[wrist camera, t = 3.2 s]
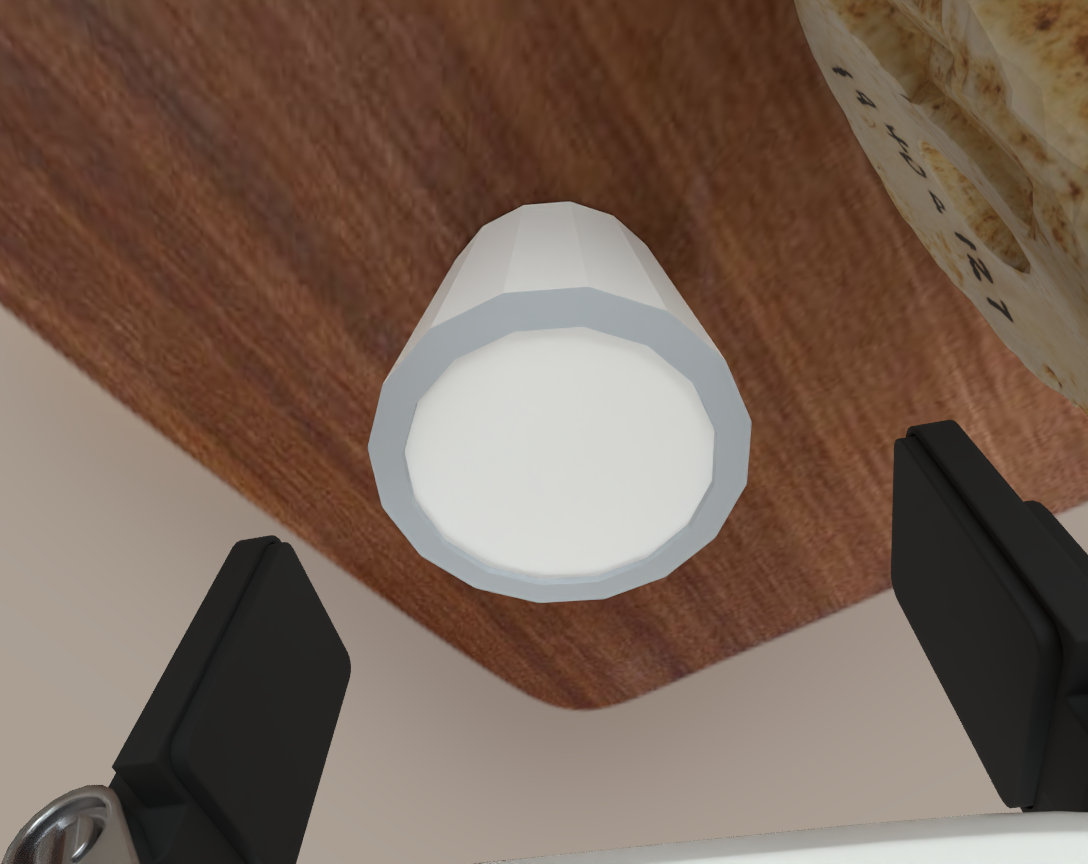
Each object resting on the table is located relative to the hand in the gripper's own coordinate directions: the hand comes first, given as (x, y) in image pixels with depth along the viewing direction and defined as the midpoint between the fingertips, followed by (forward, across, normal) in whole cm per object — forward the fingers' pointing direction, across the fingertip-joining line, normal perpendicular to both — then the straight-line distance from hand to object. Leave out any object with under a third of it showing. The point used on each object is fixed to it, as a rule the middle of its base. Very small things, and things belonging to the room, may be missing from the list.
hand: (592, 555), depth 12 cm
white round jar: (+9, +1, 0) cm, 9 cm away
